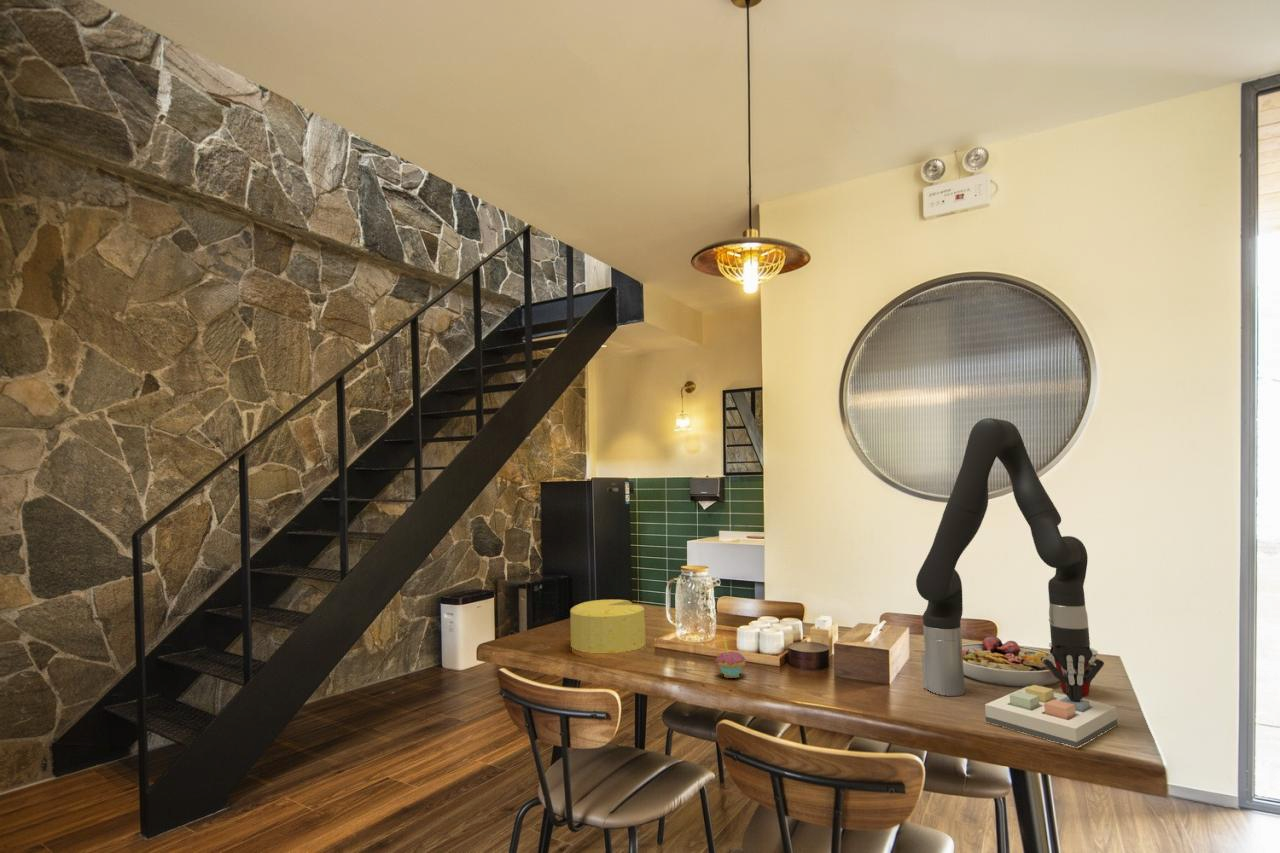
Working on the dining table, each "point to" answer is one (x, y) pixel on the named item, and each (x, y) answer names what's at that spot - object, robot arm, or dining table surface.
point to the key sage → (1024, 700)
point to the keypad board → (1053, 720)
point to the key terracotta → (1060, 709)
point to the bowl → (1006, 663)
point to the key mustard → (1041, 693)
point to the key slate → (1078, 704)
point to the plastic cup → (1085, 685)
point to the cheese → (607, 626)
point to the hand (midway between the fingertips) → (1075, 700)
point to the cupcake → (730, 661)
